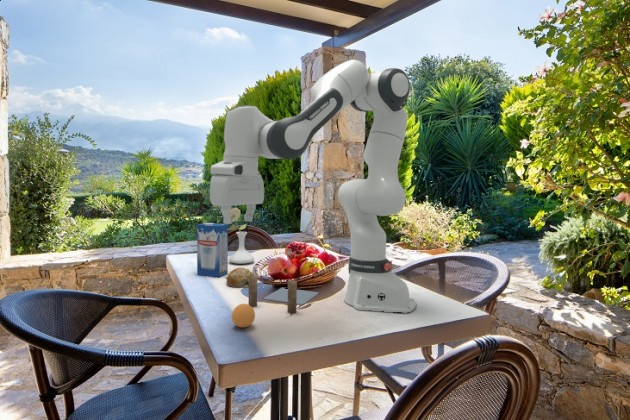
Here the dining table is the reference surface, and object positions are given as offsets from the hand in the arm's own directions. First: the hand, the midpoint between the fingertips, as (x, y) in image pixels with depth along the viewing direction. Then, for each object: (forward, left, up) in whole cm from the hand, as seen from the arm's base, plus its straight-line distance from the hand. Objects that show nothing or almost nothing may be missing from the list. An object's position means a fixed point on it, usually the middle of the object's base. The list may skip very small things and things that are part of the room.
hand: (238, 222), depth 106 cm
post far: (+4, -15, -27) cm, 31 cm away
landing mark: (-2, -29, -27) cm, 40 cm away
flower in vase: (+40, -64, -28) cm, 80 cm away
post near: (-9, -15, -27) cm, 32 cm away
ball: (-2, +1, -24) cm, 24 cm away
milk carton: (+38, -41, -28) cm, 62 cm away
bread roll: (+21, -34, -28) cm, 49 cm away
